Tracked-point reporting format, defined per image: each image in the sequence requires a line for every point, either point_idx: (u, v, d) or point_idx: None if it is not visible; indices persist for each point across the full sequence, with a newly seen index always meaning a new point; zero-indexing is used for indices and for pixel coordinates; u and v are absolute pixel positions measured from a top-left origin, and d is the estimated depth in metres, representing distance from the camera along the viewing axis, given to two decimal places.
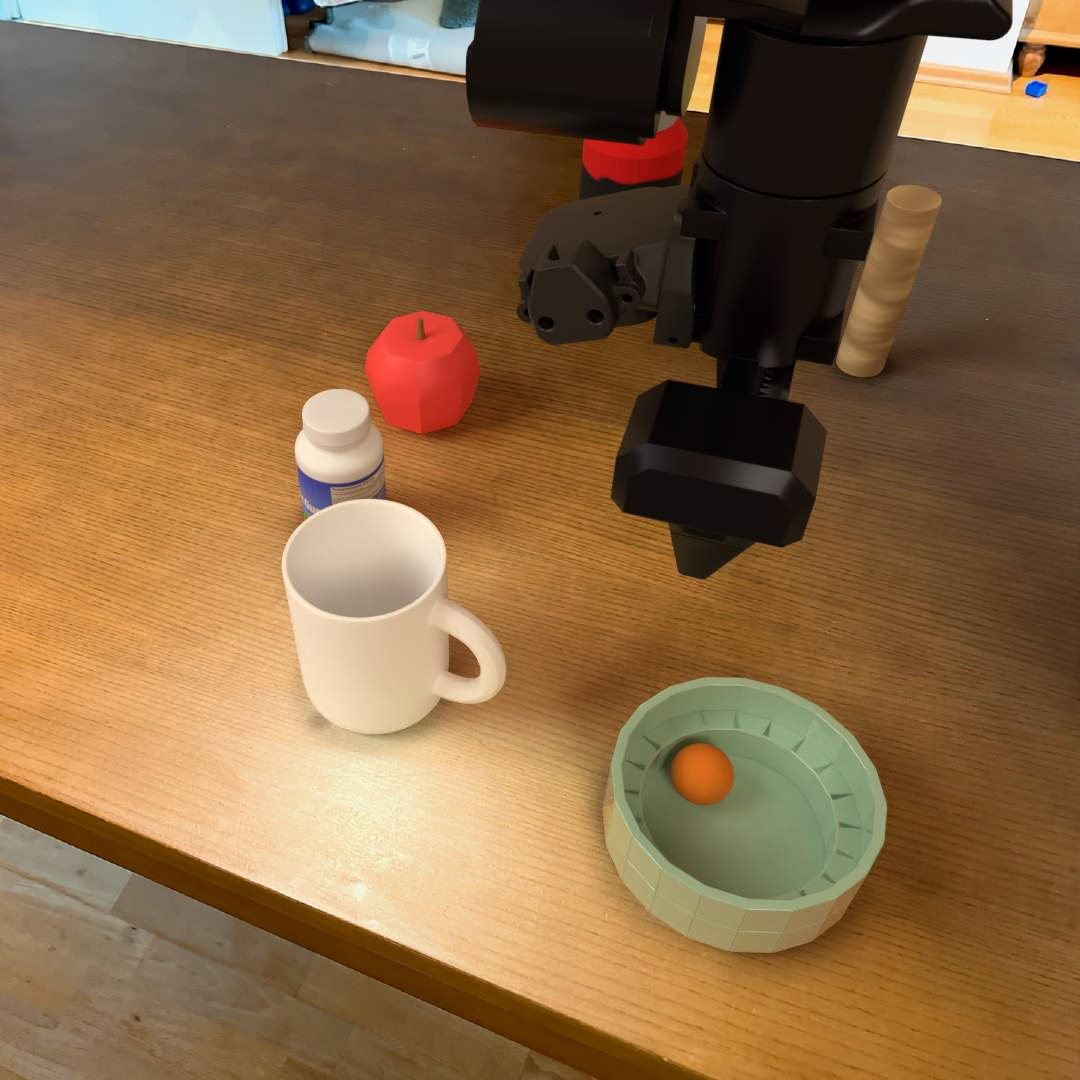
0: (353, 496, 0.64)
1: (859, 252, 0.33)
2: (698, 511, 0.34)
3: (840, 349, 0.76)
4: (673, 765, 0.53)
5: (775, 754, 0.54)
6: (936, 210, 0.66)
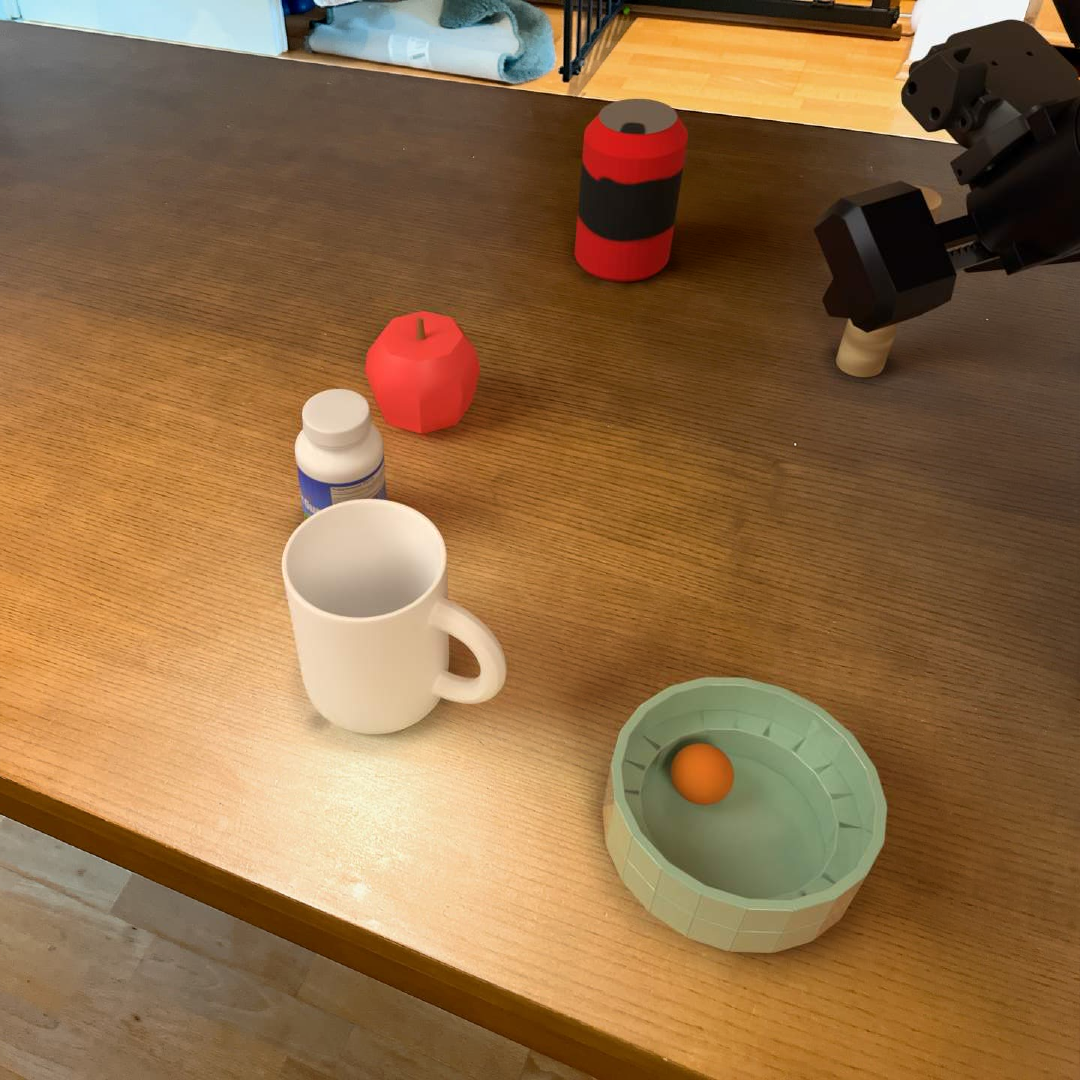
0: (353, 496, 0.64)
1: None
2: (841, 266, 0.50)
3: (840, 349, 0.76)
4: (673, 765, 0.53)
5: (775, 754, 0.54)
6: (936, 210, 0.66)
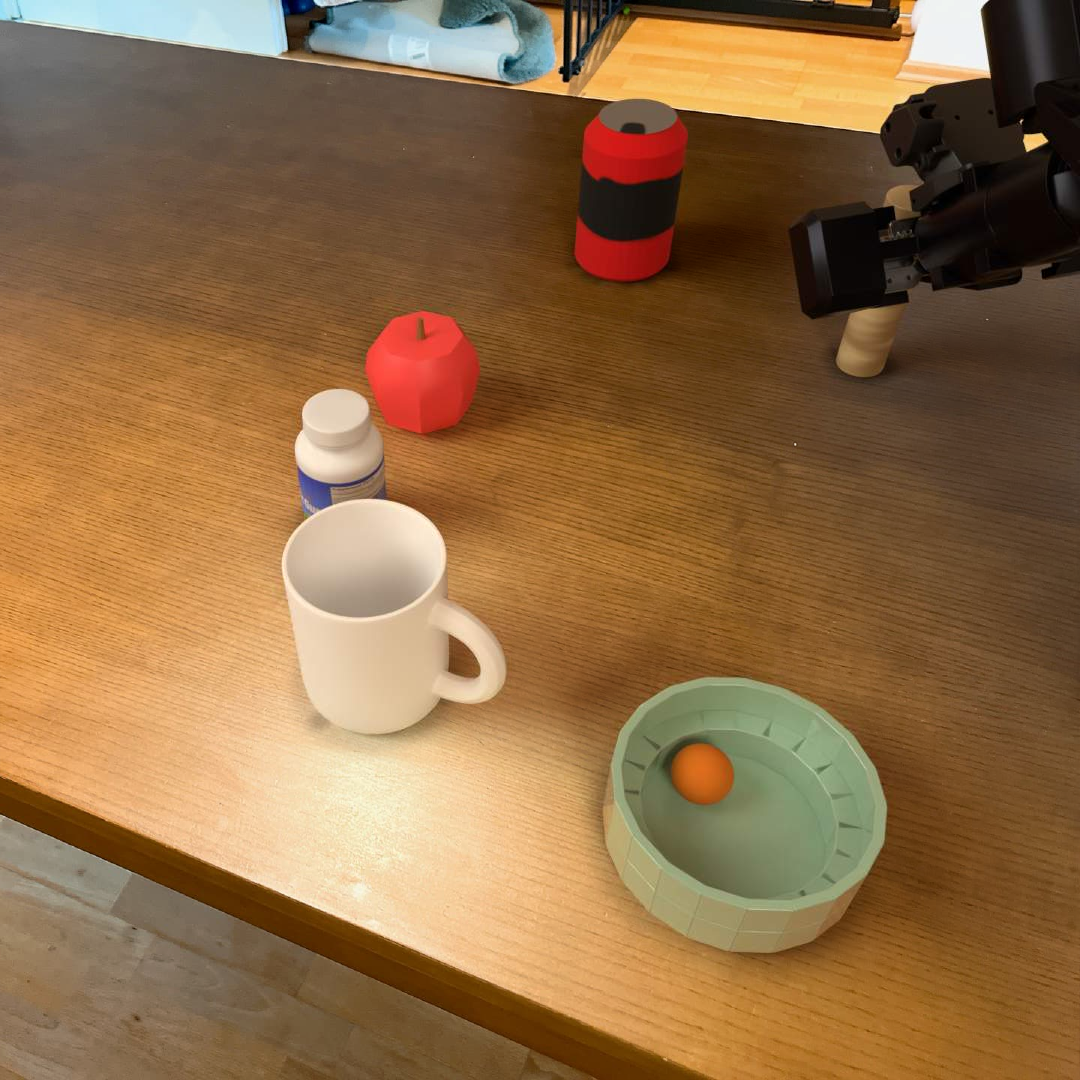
0: (353, 496, 0.64)
1: (980, 270, 0.59)
2: (800, 264, 0.64)
3: (840, 349, 0.76)
4: (673, 765, 0.53)
5: (775, 754, 0.54)
6: None
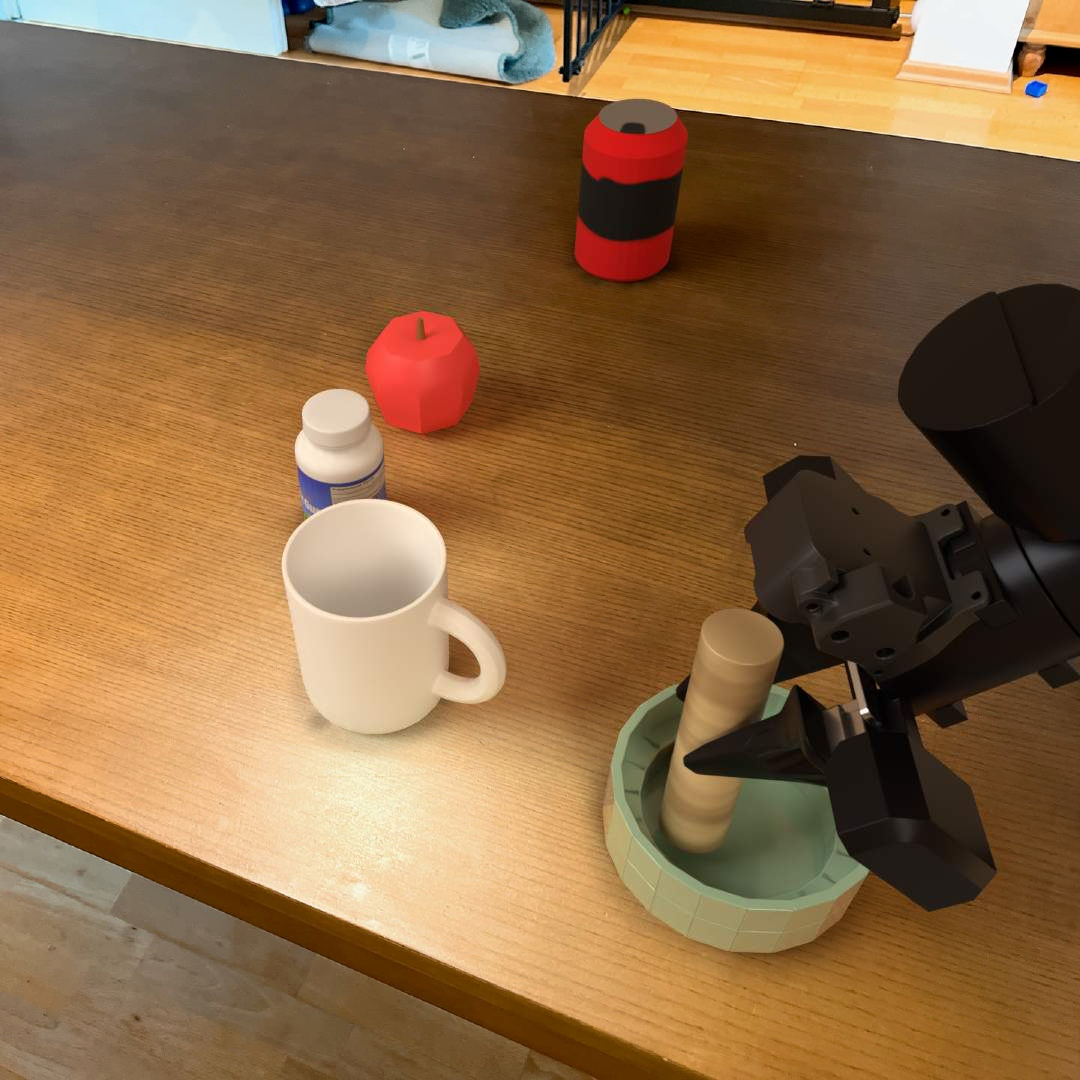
0: (353, 496, 0.64)
1: (1059, 683, 0.39)
2: (909, 876, 0.36)
3: (690, 835, 0.50)
4: (671, 757, 0.53)
5: None
6: (775, 628, 0.44)
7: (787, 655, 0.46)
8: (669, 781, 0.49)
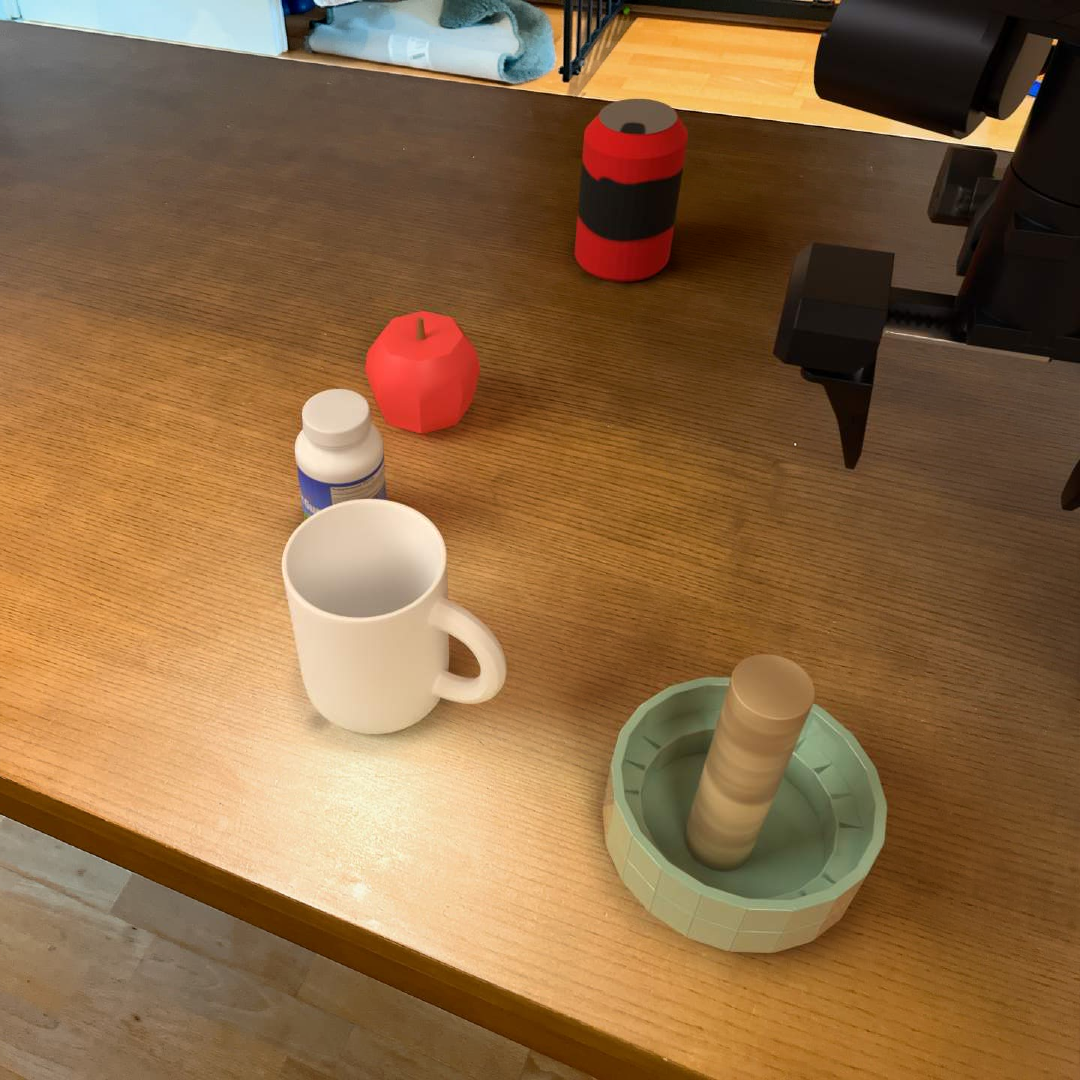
0: (353, 496, 0.64)
1: (1007, 243, 0.39)
2: (784, 302, 0.47)
3: (722, 858, 0.50)
4: None
5: None
6: (801, 670, 0.43)
7: None
8: (698, 812, 0.49)
